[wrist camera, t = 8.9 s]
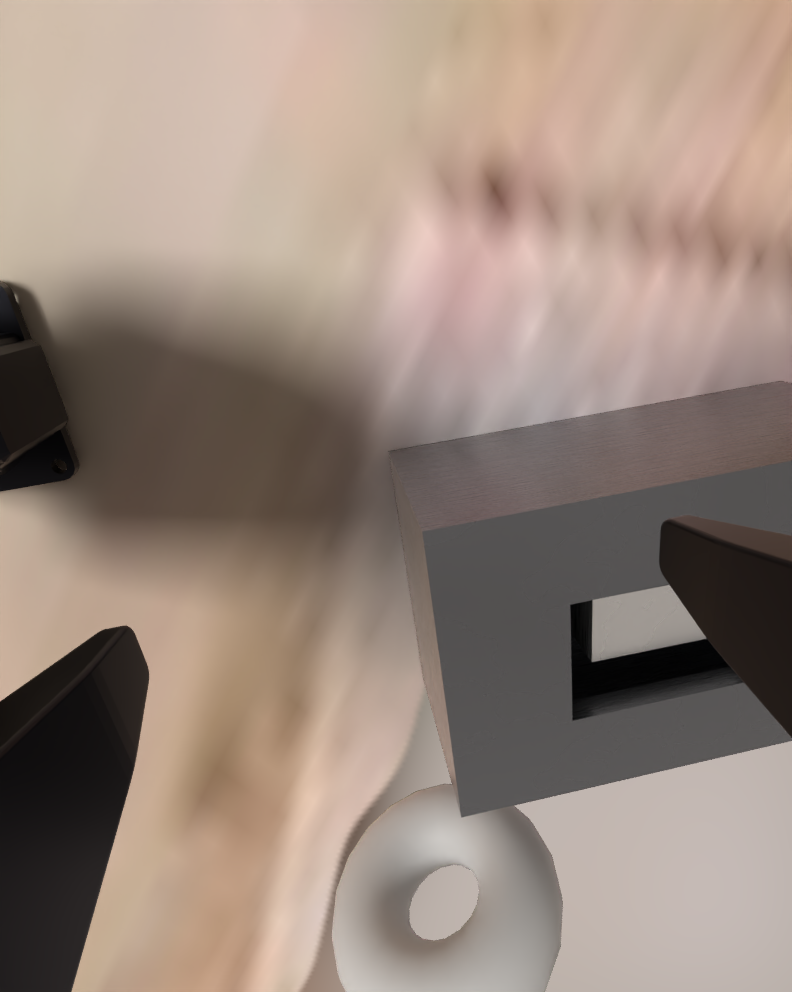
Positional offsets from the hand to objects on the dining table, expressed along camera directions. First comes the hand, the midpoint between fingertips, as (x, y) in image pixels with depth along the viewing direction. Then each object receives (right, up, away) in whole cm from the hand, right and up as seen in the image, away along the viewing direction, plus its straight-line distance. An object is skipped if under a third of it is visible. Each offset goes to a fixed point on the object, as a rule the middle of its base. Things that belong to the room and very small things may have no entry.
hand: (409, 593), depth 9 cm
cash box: (+8, 0, +14) cm, 17 cm away
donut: (+1, -14, +19) cm, 23 cm away
